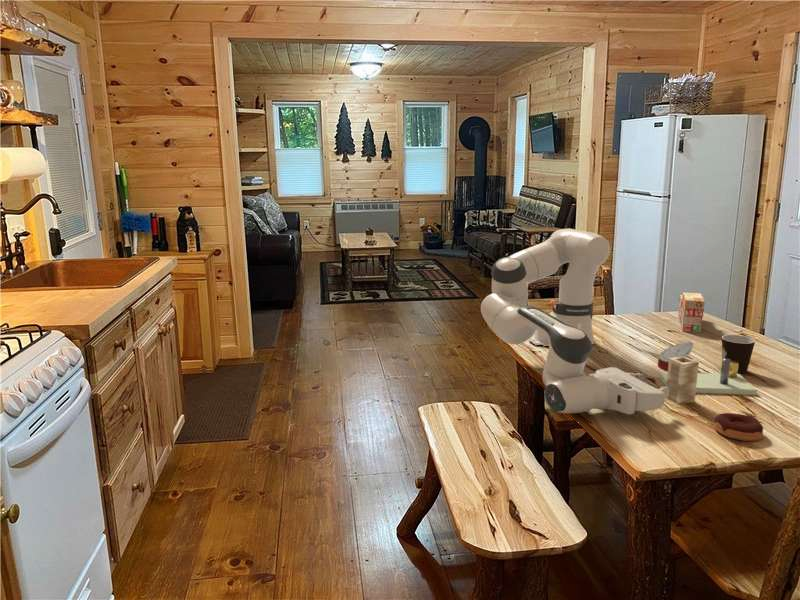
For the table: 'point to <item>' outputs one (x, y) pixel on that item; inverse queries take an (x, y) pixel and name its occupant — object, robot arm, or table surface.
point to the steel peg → (725, 371)
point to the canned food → (674, 354)
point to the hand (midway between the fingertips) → (654, 383)
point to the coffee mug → (738, 350)
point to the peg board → (718, 384)
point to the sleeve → (682, 379)
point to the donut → (738, 426)
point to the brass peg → (733, 369)
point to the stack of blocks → (691, 312)
